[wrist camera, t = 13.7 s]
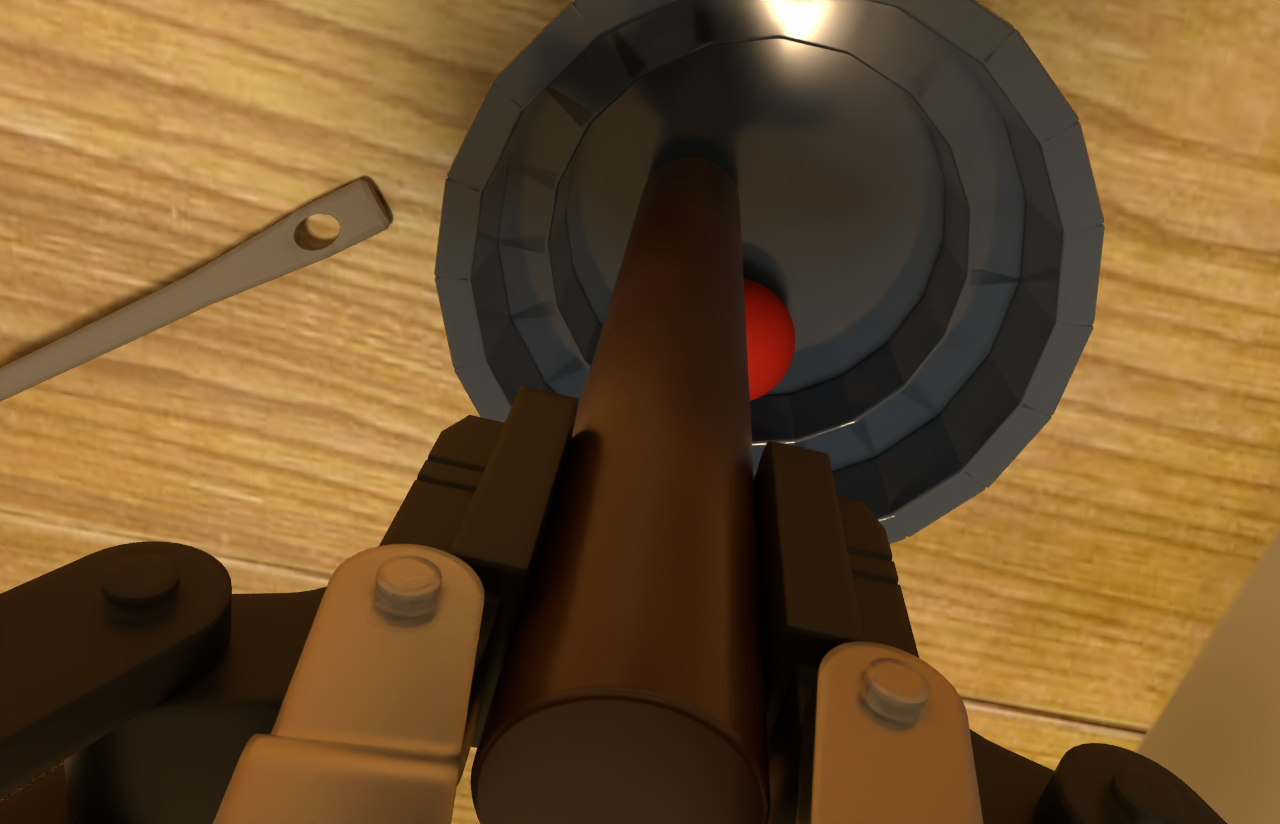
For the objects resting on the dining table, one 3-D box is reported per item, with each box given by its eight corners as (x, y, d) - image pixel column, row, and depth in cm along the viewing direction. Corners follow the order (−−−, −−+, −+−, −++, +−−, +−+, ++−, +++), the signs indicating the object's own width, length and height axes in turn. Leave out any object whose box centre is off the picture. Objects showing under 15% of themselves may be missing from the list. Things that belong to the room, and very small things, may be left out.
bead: (817, 318, 23) (783, 436, 24) (802, 273, 26) (772, 380, 27) (683, 293, 23) (657, 413, 24) (682, 250, 25) (659, 359, 27)
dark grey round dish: (1111, 7, 23) (1230, 36, 17) (915, 491, 29) (958, 621, 24) (540, -129, 22) (481, -143, 17) (466, 390, 29) (407, 500, 23)
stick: (750, 168, 23) (807, 730, 7) (726, 262, 24) (729, 933, 8) (652, 146, 23) (489, 661, 7) (632, 241, 24) (452, 875, 8)
